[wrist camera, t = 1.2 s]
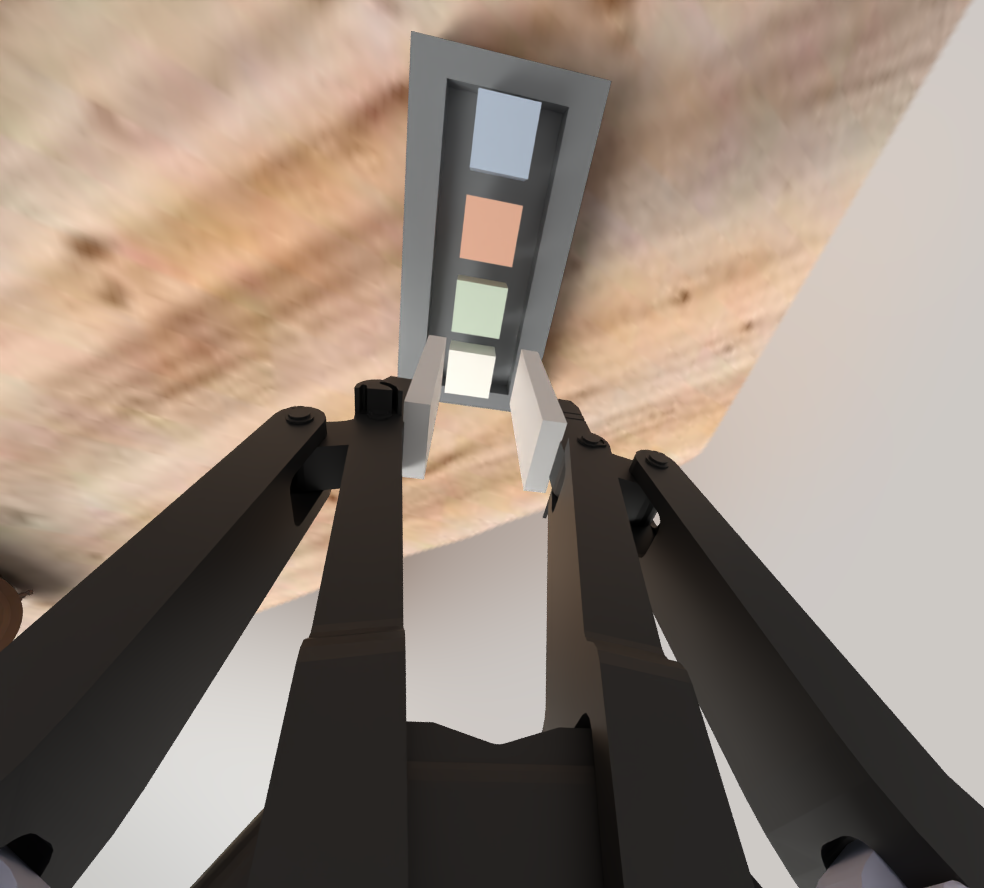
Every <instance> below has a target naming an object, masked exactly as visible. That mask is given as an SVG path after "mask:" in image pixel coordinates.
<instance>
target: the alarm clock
mask: <svg viewBox="0 0 984 888" xmlns="http://www.w3.org/2000/svg"><path fill="white" fill-rule="evenodd" d="M33 592H34V591H33V590H28V591H27V592H25V593H20V594H18V593H17V592H16V590H15V589H14V588H13V587H12V586H11V585H10V584H9V583H8V582H6V581H5V580H4V579H2V578H0V652H1V651H2V650H3V649H4V648H5V647H7V646H8V645H9V644H10V643H11V642H12V641H13V640H14V638H15V636H16V634H17V633H18V630H19V628H20V625H21V622H22V616H23V608H22V603H21V601H22V598H21V597H24V596H26V595H31V594H33Z"/></svg>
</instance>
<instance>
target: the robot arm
mask: <svg viewBox="0 0 984 888" xmlns="http://www.w3.org/2000/svg"><path fill="white" fill-rule="evenodd" d="M445 347H446V337H440V336H434V335H429V336H428V339H427V342H426V344H425V347H424V350H423V352H422V355H421V358H420V360H419V363H418V366H417V368H416V371H415V374H414V376H413V379H407V378H400V377H393V376H390V377H388V378H386V379H384V380H366V381H362V382H360V383H358V384H357V385H356V386H355V387H354V389H355V416H354V419H352V420H348V421H339V422H326V416H325V414H324V413H323V412H322V411H320V410H319V409H315V408H312V407H304V406H297V407H296V406H294V407H290V408H287V409H283V410H281V411H279V412H277V413H275V414H274V415H273V416H272V417H271V418H270V419H268V420H267V421H266V422H265V423H264V424H263V425H262V426H260V427H259V428H258V429H257V430H256V431H255V432H253V433H252V434H251V435H250V436H249V437H248V438H247V439H245V440H244V441H243V442H242V443H241V444H240V445H238V446H237V447H236V448H235V449H234V450H233V451H232V452H230V453H229V454H228V455H227V456H226V457H225V458H223V459H222V460H221V461H220V462H219V463H218V464H217V465H215V466H214V467H213V468H212V469H211V470H210V471H208V472H207V473H206V474H205V475H204V476H203V477H202V478H200V479H199V480H198V481H197V482H196V483H195V484H193V485H192V486H191V487H190V488H189V489H188V490H187V491H185V492H184V493H183V494H182V495H181V496H180V497H178V498H177V499H176V500H175V501H174V502H173V503H172V504H170V505H169V506H168V507H167V508H166V509H165V510H163V511H162V512H161V513H160V514H159V515H158V516H157V517H155V518H154V519H153V520H152V521H151V522H150V523H148V524H147V525H146V526H145V527H144V528H143V529H142V530H140V531H139V532H138V533H137V534H136V535H135V536H133V537H132V538H131V539H130V540H129V541H128V542H127V543H125V544H124V545H123V546H122V547H121V548H120V549H118V550H117V551H116V552H115V553H114V554H113V555H112V556H110V557H109V558H108V559H107V560H106V561H105V562H103V563H102V564H101V565H100V566H99V567H98V568H97V569H95V570H94V571H93V572H92V573H91V574H90V575H88V576H87V577H86V578H85V579H84V580H83V581H82V582H80V583H79V584H78V585H77V586H76V587H75V588H73V589H72V590H71V591H70V592H69V593H68V594H67V595H65V596H64V597H63V598H62V599H61V600H60V601H58V602H57V603H56V604H55V605H54V606H53V607H52V608H50V609H49V610H48V611H47V612H46V613H45V614H43V615H42V616H41V617H40V618H39V619H38V620H37V621H35V622H34V623H33V624H32V625H31V626H30V627H28V628H27V629H26V630H25V631H24V632H23V633H22V634H20V635H19V636H18V637H17V638H16V639H15V640H13V641H12V642H11V643H10V644H9V645H8V646H7V647H5V648H4V649H3V650H2V651H1V652H0V888H72V887H73V886H74V884H75V883H76V881H77V880H78V879H79V878H80V877H81V875H82V874H83V873H84V871H85V870H86V869H87V868H88V866H89V865H90V864H91V862H92V861H93V860H94V859H95V857H96V856H97V855H98V853H99V852H100V851H101V850H102V848H103V847H104V846H105V844H106V843H107V842H108V840H109V839H110V838H111V837H112V835H113V834H114V833H115V831H116V830H117V828H118V827H119V825H120V824H121V822H122V821H123V819H124V818H125V816H126V815H127V813H128V812H129V811H130V809H131V808H132V806H133V805H134V803H135V802H136V800H137V799H138V797H139V796H140V794H141V793H142V791H143V790H144V789H145V787H146V786H147V784H148V782H149V781H150V779H151V778H152V776H153V774H154V773H155V771H156V770H157V768H158V766H159V765H160V763H161V762H162V760H163V759H164V757H165V755H166V754H167V752H168V751H169V749H170V747H171V746H172V744H173V743H174V741H175V740H176V738H177V736H178V735H179V733H180V732H181V730H182V728H183V727H184V725H185V724H186V722H187V721H188V719H189V717H190V716H191V714H192V713H193V711H194V709H195V708H196V706H197V705H198V703H199V701H200V700H201V698H202V697H203V695H204V693H205V692H206V690H207V689H208V687H209V686H210V684H211V682H212V681H213V679H214V678H215V676H216V675H217V673H218V671H219V670H220V668H221V667H222V665H223V663H224V662H225V660H226V659H227V657H228V655H229V654H230V652H231V651H232V649H233V648H234V646H235V644H236V643H237V641H238V640H239V638H240V636H241V635H242V633H243V632H244V630H245V629H246V627H247V625H248V624H249V622H250V620H251V619H252V617H253V616H254V614H255V613H256V611H257V609H258V608H259V606H260V605H261V603H262V602H263V600H264V598H265V597H266V595H267V594H268V592H269V590H270V589H271V587H272V586H273V584H274V582H275V581H276V579H277V578H278V576H279V575H280V573H281V571H282V570H283V568H284V567H285V565H286V563H287V562H288V560H289V559H290V557H291V556H292V554H293V552H294V551H295V549H296V548H297V546H298V544H299V543H300V541H301V540H302V538H303V536H304V535H305V533H306V532H307V530H308V529H309V527H310V525H311V524H312V522H313V521H314V519H315V517H316V516H317V514H318V513H319V511H320V510H321V508H322V506H323V505H324V503H325V502H326V500H327V498H328V497H329V495H330V492H331V489H339V488H340V491H339V496H338V501H337V506H336V511H335V516H334V521H333V526H332V531H331V536H330V541H329V546H328V551H327V556H326V561H325V566H324V571H323V576H322V581H321V586H320V591H319V596H318V601H317V606H316V611H315V616H314V620H313V626H312V630H311V633H310V636H309V638H307V639H304V640H303V643H302V645H301V647H300V650H299V654H298V658H297V662H296V666H295V670H294V675H293V680H292V684H291V688H290V693H289V698H288V702H287V707H286V712H285V716H284V720H283V725H282V730H281V734H280V739H279V743H278V748H277V752H276V757H275V761H274V766H273V770H272V775H271V780H270V784H269V789H268V793H267V798H266V803H265V807H264V809H263V810H262V811H261V812H260V813H259V814H258V815H257V816H256V817H255V818H254V819H253V820H252V821H251V823H250V824H249V825H248V826H247V827H246V828H245V829H244V830H243V831H242V832H241V833H240V834H239V836H238V837H237V838H236V839H235V840H234V841H233V842H232V843H231V844H230V845H229V846H228V847H227V849H226V850H225V851H224V852H223V853H222V854H221V855H220V856H219V857H218V858H217V859H216V860H215V861H214V863H213V864H212V865H211V866H210V867H209V868H208V869H207V870H206V871H205V872H204V873H203V874H202V875H201V877H200V878H199V879H198V880H197V881H196V882H195V883H194V884H193V885H192V886H191V887H190V888H762V887H761V886H760V884H759V883H758V882H757V881H756V880H755V879H754V878H753V876H752V875H751V874H750V872H749V868H748V865H747V862H746V858H745V855H744V852H743V849H742V845H741V842H740V839H739V835H738V832H737V829H736V826H735V822H734V819H733V817H732V812H731V809H730V806H729V802H728V799H727V796H726V793H725V790H724V786H723V783H722V779H721V776H720V773H719V770H718V766H717V763H716V760H715V756H714V753H713V750H712V747H711V743H710V740H709V737H708V733H707V730H706V727H705V723H704V720H703V717H702V714H701V711H700V708H701V710H702V712H703V713H704V715H705V718H706V719H707V721H708V724H709V726H710V727H711V730H712V731H713V734H714V735H715V737H716V740H717V742H718V743H719V746H720V748H721V750H722V752H723V754H724V755H725V757H726V759H727V761H728V764H729V765H730V768H731V770H732V772H733V774H734V775H735V778H736V780H737V782H738V783H739V786H740V788H741V790H742V792H743V793H744V796H745V797H746V799H747V801H748V803H749V805H750V807H751V808H752V810H753V812H754V814H755V816H756V818H757V820H758V821H759V823H760V825H761V827H762V829H763V831H764V833H765V834H766V836H767V838H768V839H769V841H770V842H771V844H772V846H773V848H774V849H775V851H776V852H777V854H778V856H779V857H780V859H781V860H782V862H783V864H784V865H785V867H786V869H787V870H788V872H789V874H790V875H791V877H792V878H793V880H794V881H795V883H796V884H797V886H798V887H799V888H984V808H983V807H982V806H981V805H980V804H979V803H978V802H977V801H975V800H974V799H973V798H972V797H971V796H970V795H969V794H968V793H967V792H965V791H964V790H963V789H962V788H961V787H960V786H959V785H957V784H956V783H955V782H954V781H953V780H952V779H951V778H950V777H949V776H948V775H947V774H946V773H945V772H944V771H943V770H942V769H941V767H940V766H939V765H938V764H937V763H936V762H935V761H934V759H933V758H932V757H931V756H930V755H929V754H928V753H927V751H926V750H925V749H924V748H923V747H922V746H921V745H920V743H919V742H918V741H917V740H916V739H915V737H914V736H913V735H912V734H911V733H910V732H909V731H908V730H907V728H906V727H905V726H904V725H903V724H902V723H901V721H900V720H899V719H898V718H897V717H896V716H895V714H893V712H892V711H891V710H890V709H889V708H888V706H887V705H886V704H885V703H884V702H883V701H882V700H881V698H880V697H879V696H878V695H877V694H876V693H875V692H874V690H873V689H872V688H871V687H870V686H869V685H868V683H867V682H866V681H865V680H864V679H863V678H862V677H861V676H860V674H859V673H858V672H857V671H856V670H855V669H854V667H853V666H852V665H851V664H850V663H849V662H848V660H847V659H846V658H845V657H844V656H843V655H842V654H841V653H840V651H839V650H838V649H837V648H836V647H835V646H834V644H833V643H832V642H831V641H830V640H829V639H828V637H827V636H826V635H825V634H824V633H823V632H822V631H821V629H820V628H819V627H818V626H817V625H816V624H815V622H814V621H813V620H812V619H811V618H810V617H809V616H808V615H807V613H806V612H805V611H804V610H803V609H802V608H801V606H800V605H799V604H798V603H797V602H796V601H795V599H794V598H793V597H792V596H791V595H790V594H789V593H788V591H787V590H786V589H785V588H784V587H783V586H782V585H781V583H780V582H779V581H778V580H777V579H776V578H775V576H774V575H773V574H772V573H771V572H770V571H769V570H768V568H767V567H766V566H765V565H764V564H763V563H762V562H761V560H760V559H759V558H758V557H757V556H756V555H755V554H754V552H753V551H752V550H751V549H750V548H749V547H748V545H747V544H745V542H744V541H743V540H742V539H741V537H740V536H739V535H738V534H737V533H736V532H735V531H734V530H733V528H732V527H731V526H730V525H729V524H728V522H727V521H726V520H725V519H724V518H723V517H722V516H721V514H720V513H719V512H718V511H717V510H716V509H715V508H714V506H713V505H712V504H711V503H710V502H709V501H708V499H707V498H706V497H705V496H704V495H703V494H702V493H701V491H700V490H699V489H698V488H697V487H696V486H695V485H694V483H693V482H692V481H691V480H690V479H689V478H688V477H687V475H686V474H685V473H684V472H683V471H682V470H681V469H680V467H679V466H678V465H677V464H676V463H675V462H674V461H673V460H672V459H670V458H669V457H667V456H665V455H664V454H663V453H659V452H657V451H651V450H640V451H638V452H636V454H635V456H634V459H633V460H630V459H627V458H623V457H620V456H617V455H614V454H612V453H611V449H610V446H609V444H608V442H607V441H606V440H604V439H603V438H602V437H600V436H598V435H596V434H593V433H591V432H590V430H589V428H588V426H587V424H586V422H585V421H584V418H583V416H582V414H581V412H580V410H579V408H578V407H577V406H576V405H575V404H574V403H572V402H571V401H568V400H561V399H557V397H556V395H555V392H554V390H553V388H552V385H551V383H550V380H549V378H548V375H547V373H546V370H545V368H544V366H543V363H542V361H541V358H540V356H539V353H538V352H535V351H529V350H523V349H521V353H520V358H519V363H518V367H517V372H516V377H515V381H514V386H513V391H512V395H511V400H510V409H511V415H512V421H513V428H514V434H515V440H516V446H517V452H518V459H519V465H520V471H521V477H522V483H523V490H524V491H533V492H542V493H546V489H547V486H548V483H549V480H550V482H551V486H552V491H551V494H550V497H549V500H548V503H547V506H546V509H545V512H544V515H543V518H546V517H547V515H548V563H547V564H548V565H547V645H546V650H547V652H546V711H545V720H544V725H543V730H542V732H541V733H538V734H535V735H531V736H528V737H525V738H521V739H518V740H515V741H512V742H508V743H505V744H493V743H489V742H487V741H483V740H481V739H478V738H475V737H472V736H470V735H467V734H464V733H461V732H459V731H456V730H453V729H450V728H447V727H445V726H442V725H439V724H436V723H433V722H407V721H406V671H405V670H406V665H405V664H406V659H405V630H404V628H403V527H402V477H409V478H418V479H424V476H425V471H426V466H427V461H428V455H429V450H430V445H431V440H432V435H433V430H434V425H435V420H436V415H437V410H438V405H439V399H440V394H441V385H442V376H443V366H444V357H445ZM657 512H658V514H659V516H660V524H659V525H658V526H656V524H655V523H654V521H653V518H654V517H655V515H656V513H657ZM653 614H654V615H655V618H656V619H657V622H658V624H659V626H660V628H661V629H662V631H663V634H664V636H665V638H666V640H667V641H668V644H669V646H670V648H671V650H672V651H673V654H674V656H675V657H676V660H677V662H676V661H672V660H668V659H667V657H666V656H665V655H664V652H663V650H662V647H661V643H660V639H659V635H658V631H657V628H656V624H655V620H654V616H653ZM699 706H700V707H699Z"/></svg>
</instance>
